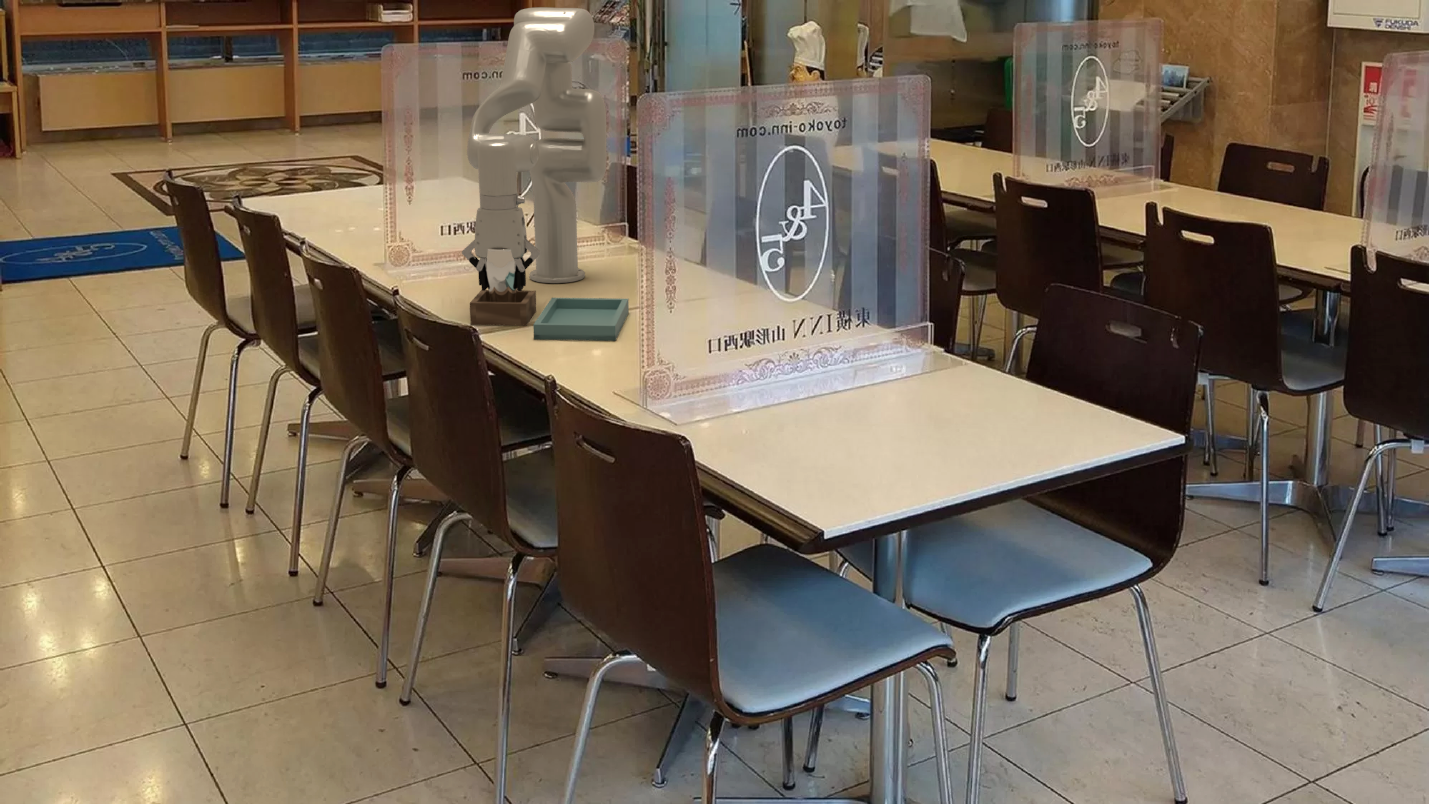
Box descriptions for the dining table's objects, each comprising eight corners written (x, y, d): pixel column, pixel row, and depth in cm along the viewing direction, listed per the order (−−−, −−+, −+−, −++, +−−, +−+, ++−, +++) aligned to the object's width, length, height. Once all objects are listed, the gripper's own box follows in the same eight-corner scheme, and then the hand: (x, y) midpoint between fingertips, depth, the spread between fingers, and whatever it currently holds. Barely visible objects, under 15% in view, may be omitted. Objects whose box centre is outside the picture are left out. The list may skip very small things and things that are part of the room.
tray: (552, 311, 312) (551, 297, 311) (628, 312, 311) (628, 298, 310) (533, 339, 291) (533, 324, 290) (615, 340, 290) (615, 325, 289)
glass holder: (482, 310, 312) (481, 289, 311) (536, 311, 311) (535, 290, 310) (470, 324, 301) (469, 303, 300) (526, 325, 301) (525, 304, 299)
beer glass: (514, 323, 302) (511, 250, 298) (482, 321, 304) (478, 248, 299) (525, 314, 309) (523, 243, 304) (493, 313, 310) (490, 242, 306)
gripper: (545, 199, 302) (548, 285, 308) (460, 198, 303) (464, 284, 309) (538, 206, 295) (541, 294, 300) (451, 205, 296) (456, 293, 301)
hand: (502, 288), depth 304 cm, fingers closed on beer glass, 6 cm apart
